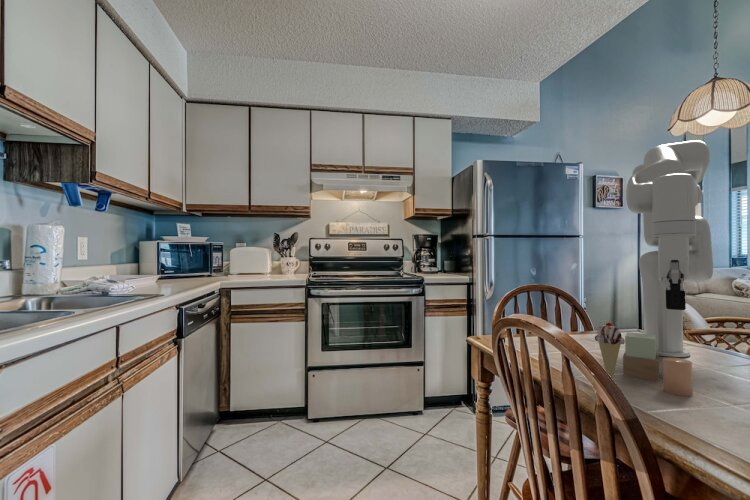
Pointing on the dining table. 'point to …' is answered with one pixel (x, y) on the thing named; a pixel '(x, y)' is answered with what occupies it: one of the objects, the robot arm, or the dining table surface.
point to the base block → (641, 367)
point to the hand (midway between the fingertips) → (675, 307)
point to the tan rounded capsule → (677, 376)
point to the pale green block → (640, 345)
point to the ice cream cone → (609, 346)
